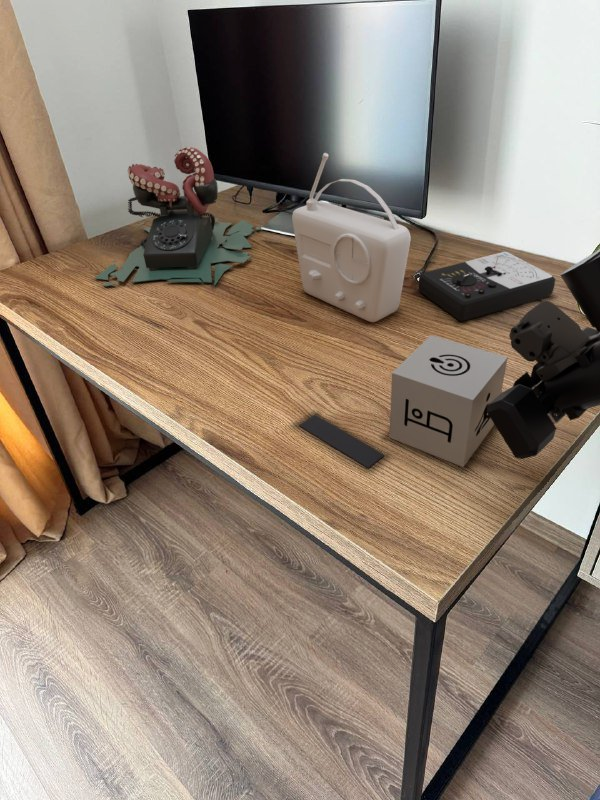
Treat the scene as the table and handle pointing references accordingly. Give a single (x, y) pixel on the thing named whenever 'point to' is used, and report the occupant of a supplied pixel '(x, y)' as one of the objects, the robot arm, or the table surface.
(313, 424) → the felt mark
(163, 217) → the telephone
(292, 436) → the table surface
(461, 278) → the multimeter
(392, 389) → the icon cube
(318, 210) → the radio
